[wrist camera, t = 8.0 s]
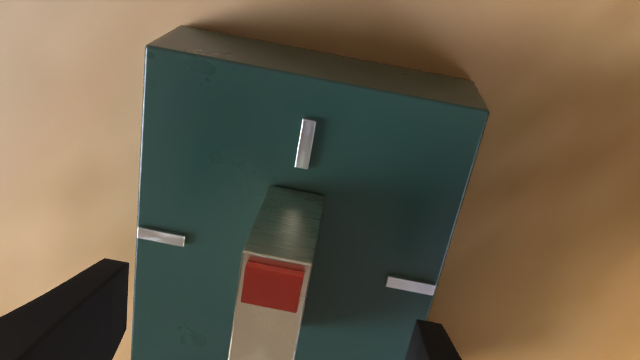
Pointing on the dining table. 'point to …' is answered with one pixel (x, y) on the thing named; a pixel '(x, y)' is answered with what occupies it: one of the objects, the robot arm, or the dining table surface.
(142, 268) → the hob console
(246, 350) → the hob knob
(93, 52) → the dining table surface
